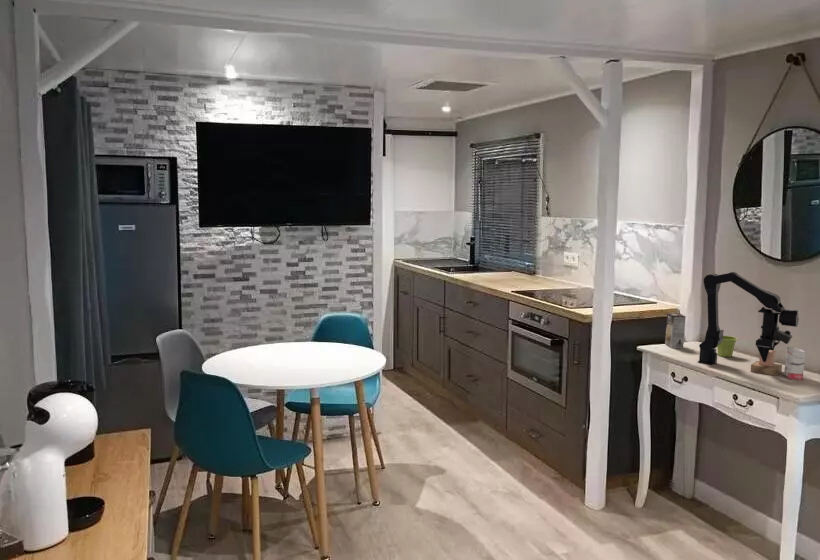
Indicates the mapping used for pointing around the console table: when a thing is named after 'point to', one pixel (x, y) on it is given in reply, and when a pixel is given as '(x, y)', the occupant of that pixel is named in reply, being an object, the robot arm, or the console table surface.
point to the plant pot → (726, 346)
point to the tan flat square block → (766, 368)
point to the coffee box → (675, 330)
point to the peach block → (768, 359)
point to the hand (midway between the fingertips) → (766, 360)
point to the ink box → (794, 363)
